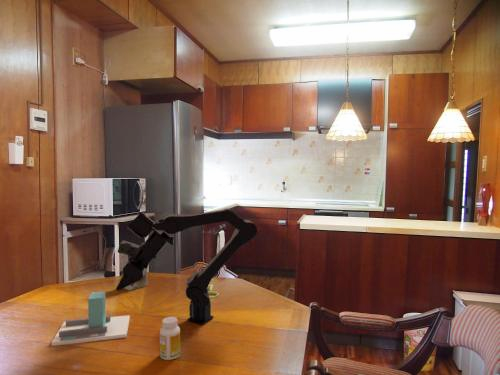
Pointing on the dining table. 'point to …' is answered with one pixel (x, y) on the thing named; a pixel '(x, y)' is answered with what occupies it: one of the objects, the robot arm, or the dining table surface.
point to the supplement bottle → (169, 339)
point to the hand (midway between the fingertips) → (119, 285)
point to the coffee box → (140, 283)
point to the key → (212, 291)
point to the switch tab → (97, 309)
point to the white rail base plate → (91, 330)
